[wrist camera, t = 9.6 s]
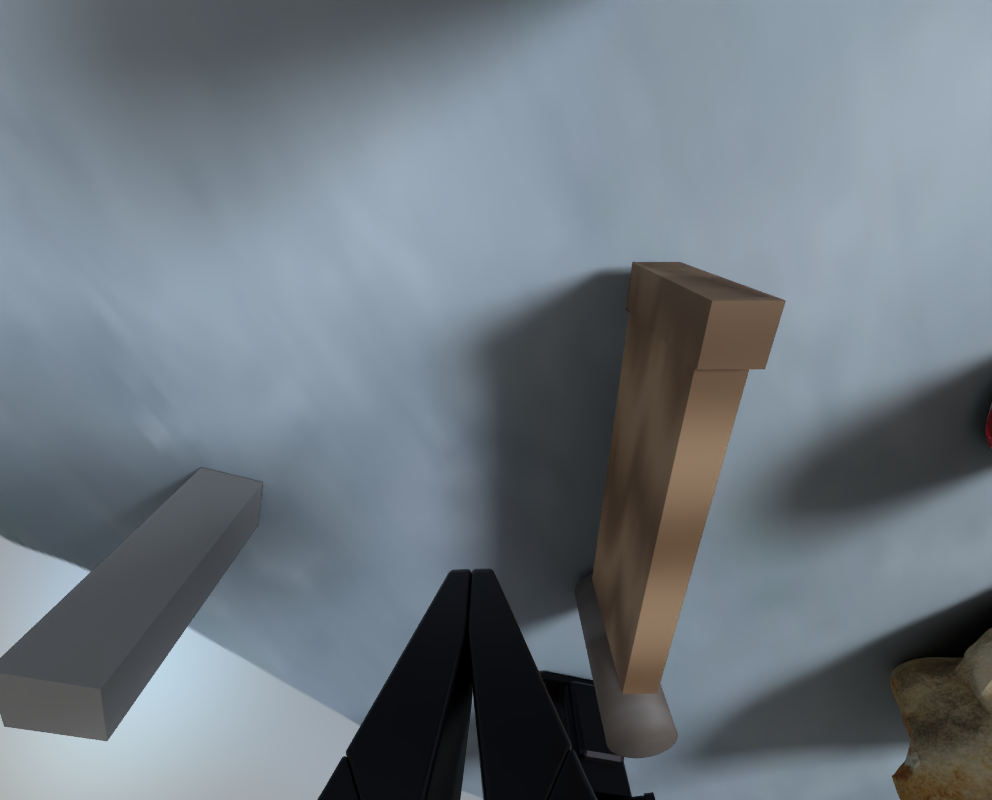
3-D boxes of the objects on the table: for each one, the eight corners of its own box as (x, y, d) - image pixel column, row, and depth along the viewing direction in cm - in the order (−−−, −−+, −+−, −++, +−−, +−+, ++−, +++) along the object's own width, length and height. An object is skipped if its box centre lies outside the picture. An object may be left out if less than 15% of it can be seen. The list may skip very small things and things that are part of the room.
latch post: (258, 525, 23) (107, 741, 14) (199, 511, 22) (4, 726, 13) (262, 482, 22) (100, 689, 13) (200, 467, 21) (-14, 671, 12)
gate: (622, 607, 25) (670, 757, 19) (572, 607, 25) (602, 758, 19) (689, 260, 16) (827, 306, 10) (613, 260, 16) (698, 307, 10)
